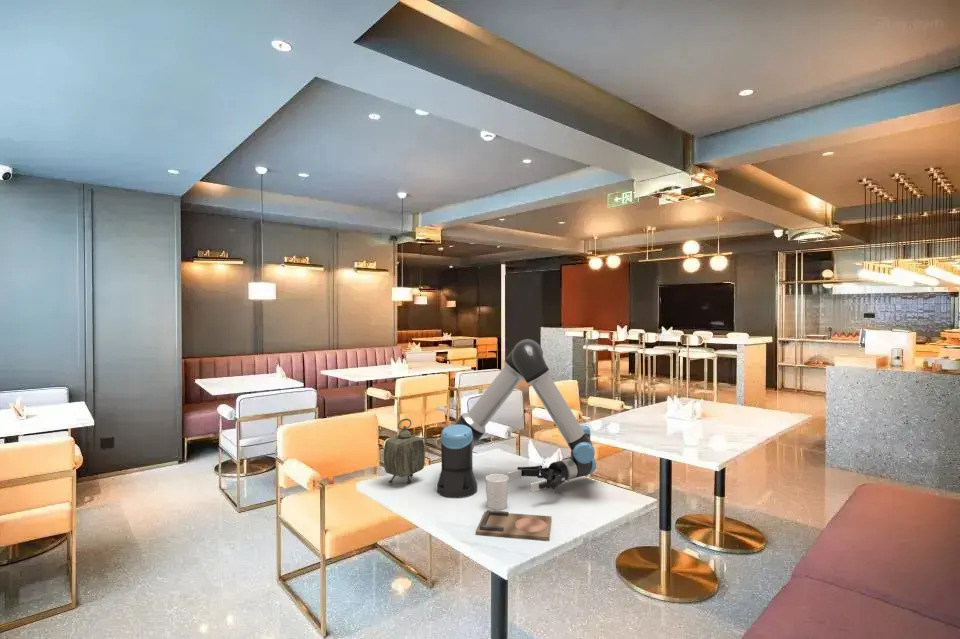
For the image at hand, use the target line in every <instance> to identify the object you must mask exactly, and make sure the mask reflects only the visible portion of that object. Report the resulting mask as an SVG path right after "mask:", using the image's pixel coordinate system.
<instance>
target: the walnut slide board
mask: <svg viewBox="0 0 960 639" xmlns="http://www.w3.org/2000/svg"><path fill="white" fill-rule="evenodd" d="M551 526H552V516H551V515H550V516H549V515H538V514H537V515H536V514H523V513H513V512H512V513H511V512H509V511H505V510H504V511H501V510H492V509H490V510H489V509H487V510H486V511H485V510H484V512H483V514H482V516H481V519H480V521H479V523H478V525H477V527H476V530H475V535H477V536H478V535H479V536H488V537H500V538H501V537H502V538H513V539H522V540H523V539H524V540H525V539H527V540H534V539H535V541H536V540H537V541H546V540H548V541H550V537H551V536H550V534H551ZM548 541H547V542H548Z"/></svg>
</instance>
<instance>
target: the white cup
mask: <svg viewBox="0 0 960 639" xmlns="http://www.w3.org/2000/svg"><path fill="white" fill-rule="evenodd" d="M508 490H509V481H508V476H506V474H502V473H491V474H488V475H486V476H485V493H486V494H485V495H486V507H487V508H488V509H490V510H492V511H501V510H505V509H506V508H507V506H508V493H509V492H508Z"/></svg>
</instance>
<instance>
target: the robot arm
mask: <svg viewBox="0 0 960 639" xmlns="http://www.w3.org/2000/svg"><path fill="white" fill-rule="evenodd" d="M522 381H525V382H526V384H528V385H531V387H532V388H533V389H534V390H533V391H534V392H535V393H536V395H537V396H538V398H539V400H540V402H541V403H542V405H543V406H544V407H545V409H546V411H547V413H548V414H549V417H550V418H551V419H552V421H553V423H554V424H555V425H556V428H557V429H558V431H559V432H560V434H561V435H562V437H563V439H564V441H566V442H565V443H566V444H567V445H568V447H569V448H570V458H566V459H561V460H557V461H553V462H551V463H550V465H549V466H548V467H546V466H545V467H543V465H536V466H533V465H532V466H517V469H516V470H512V471H509V472H506V473H505V475H506V476H508V482H509V481H512V480H516V479H521V478H522V477H537V478H538V479H543V480H538V481H535V482H532V483H529V485H530V486H529V491H530V492H531V493H534V492H537V491H541V490H544V489H550V488H551V490H556V489H557V488H558V487H559V486H561V485H562V484H563V483H565V482H566V481H567V482H569V481H570V480H574V479H577V478H580V477H586V476H588V475H591V474H593V473H595V471H596V470H597V462H596V459H595V455H596V452H595V447H594V446H593V443H592V441H591V429H590V427H589V426H587V425H584V424H583V425H582V424H580V423H579V421H578V420H577V418H576V416H575V415H574V413H573V411H572V410H571V408H570V406H569V405H568V403H567V401H566V400H565V398H564V397H563V395H562V393H561V392H560V390H559V388H558V387H557V385H556V384H555V381H554V380H553V378H552V377H551V376H550V368H549V367H548V365H547V363H546V361H545V358H544V352H543V348H542V346H541V345H540V344H539V343H538V342H536V341H535V340H533V339H529V338H527V339H522V340H520V341H518V342H517V343H516V344H515V346H514V347H513V349H512V350H511V351H510V353H509V354H508V356H507V357H506V358H505V359H504V366H503V368H502V369H501V370H500V372H499V373H498V374H497V375H496V377H495V378H494V379H493V381H492V382H491V383H490V384H489V386H488V387H487V388H486V389H485V391H484V392H483V393H482V395H481V396H480V397H479V398H478V400H477V401H476V402H475V403H474V404H473V406H472V408H470V410H469V411H468V412H464V413H462V414H461V415H460V417H459V418H458V419H457V420H456V422H455V423H453V424H451V425H449V426H445V428H443V429H442V430H441V436H440V442H441V443H440V444H441V447H440V449H441V452H440V453H441V455H440V456H441V459H440V460H441V461H440V462H441V471H440V475H439V477H438V480H437V484H436V492H437V493H438V495H440V496H443V497H445V498H446V497H447V498H454V499H455V498H456V499H457V498H464V497H465V498H466V497H470V496H472V495H474V494H477V492H478V483H477V479H476V476H475V473H474V470H473V468H474V467H473V450H474V448H475V446H476V445H477V444H478V442H479V441H480V440H481V439H482V437H483V435H485V433H486V426H487V424H488V423H489V422H490V421H491V419H492V418H493V417H494V416H495V415H496V413H497V412H498V411H499V409H500V408H501V407H502V406H503V404H504V403H505V402H506V401H507V399H508V398H509V396H510V395H511V394H512V393H513V392H514V391H515V389H516V388H517V387H518V385H519V384H520V383H521V382H522Z"/></svg>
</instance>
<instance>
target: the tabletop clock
mask: <svg viewBox="0 0 960 639" xmlns="http://www.w3.org/2000/svg"><path fill="white" fill-rule="evenodd" d="M404 421H408V422H409V425H408V426H406V425H404V426H402V427H403V428H401V427H400V425H401V423H402V422H404ZM411 426H412V420H411V419H410V418H403V419H400V421H398V423H397V428H398V429H399V430H400V431H399V433H398V435H394V436H392V437H390V438H388V439H386V440H385V443H384V446H383V466H384V467H383V468H384V470H385V473H387V474H390V475H392V477H391V479H390V480H388V484H389V483H392V484H393V482H394V479H395V478H396V477H400V478H406V477H407V480H406V482H407V484H411V483H412V480H411V478H412V477H414V474H416V473H418V472H420V471H422V470H423V469H424V467H425V461H426V460H425V458H426V451H425V450H426V448H425V443H424V442H425V441H424V439H423V438H422V437H420V436H415V435H412V434H411V432H410V430H408V429H409V428H410V427H411Z"/></svg>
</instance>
